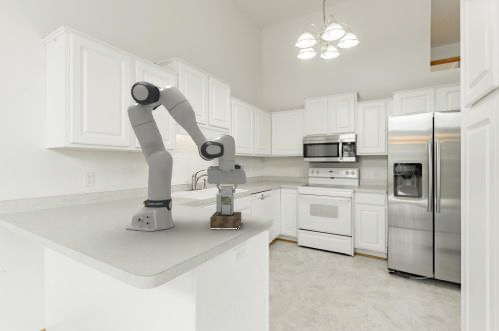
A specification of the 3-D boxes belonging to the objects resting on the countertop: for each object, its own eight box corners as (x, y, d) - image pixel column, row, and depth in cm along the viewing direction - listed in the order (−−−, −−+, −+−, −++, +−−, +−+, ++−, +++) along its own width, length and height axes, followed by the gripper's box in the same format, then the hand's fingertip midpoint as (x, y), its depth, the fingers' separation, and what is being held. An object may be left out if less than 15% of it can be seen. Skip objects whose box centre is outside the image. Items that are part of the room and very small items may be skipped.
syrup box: (233, 213, 126) (233, 185, 127) (231, 215, 121) (231, 186, 121) (222, 213, 127) (222, 185, 127) (220, 215, 121) (220, 186, 121)
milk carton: (225, 222, 132) (225, 187, 132) (216, 220, 136) (216, 187, 136) (233, 219, 137) (233, 187, 137) (224, 218, 142) (224, 186, 142)
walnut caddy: (210, 229, 117) (210, 217, 117) (216, 222, 131) (216, 211, 131) (238, 229, 116) (238, 217, 116) (241, 222, 130) (241, 212, 130)
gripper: (205, 166, 121) (205, 193, 121) (245, 166, 120) (245, 193, 120) (208, 166, 127) (208, 191, 127) (246, 166, 126) (246, 192, 126)
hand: (227, 192), depth 124 cm, fingers closed on syrup box, 6 cm apart
